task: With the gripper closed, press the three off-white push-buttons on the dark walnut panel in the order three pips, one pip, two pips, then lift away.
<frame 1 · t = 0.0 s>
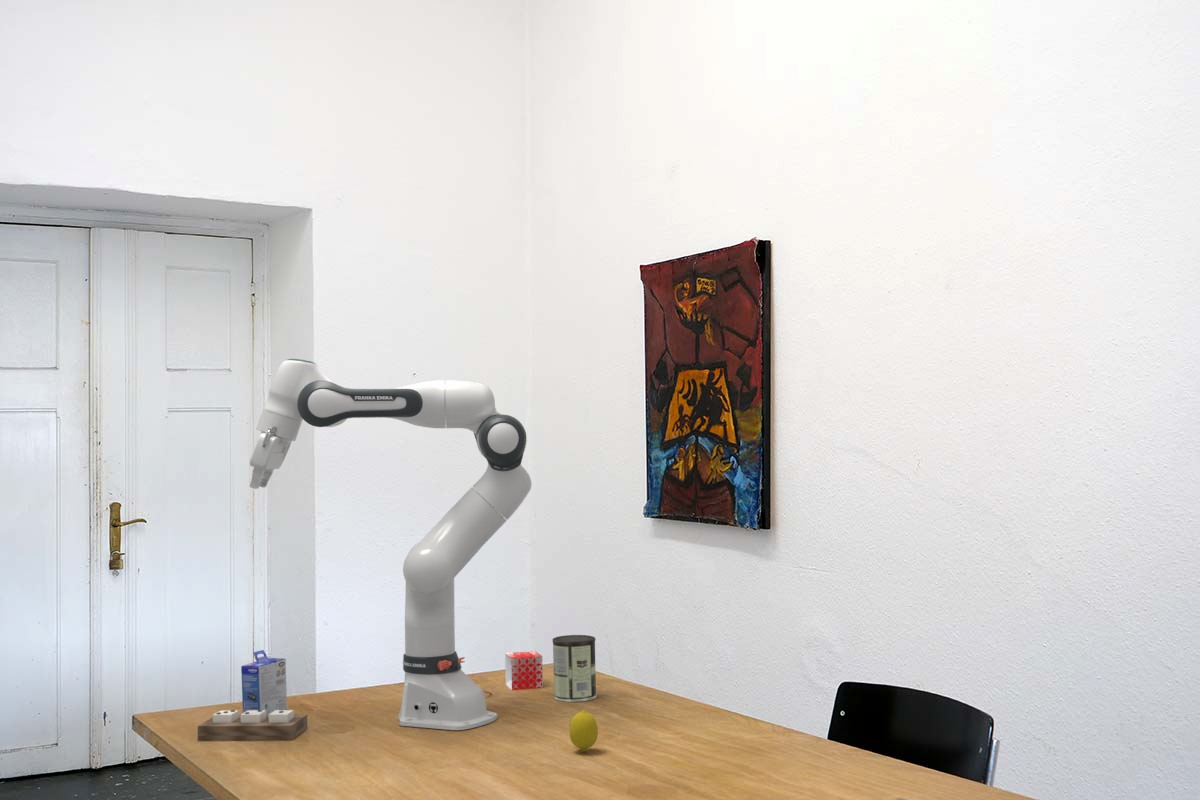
hand: (257, 487, 247), 52 cm above the table, tool tilted 20°, fingers open, 8 cm apart
button three: (225, 717, 237), point 4 cm above the table, slide at 0.0 cm
coffee can: (574, 698, 267), on the table
lemon: (583, 752, 218), on the table
button panel: (253, 734, 237), on the table
red and white cube: (524, 687, 281), on the table
button one: (281, 717, 236), point 3 cm above the table, slide at 0.0 cm
ink cartridge box: (264, 716, 254), on the table
button two: (253, 717, 237), point 4 cm above the table, slide at 0.0 cm
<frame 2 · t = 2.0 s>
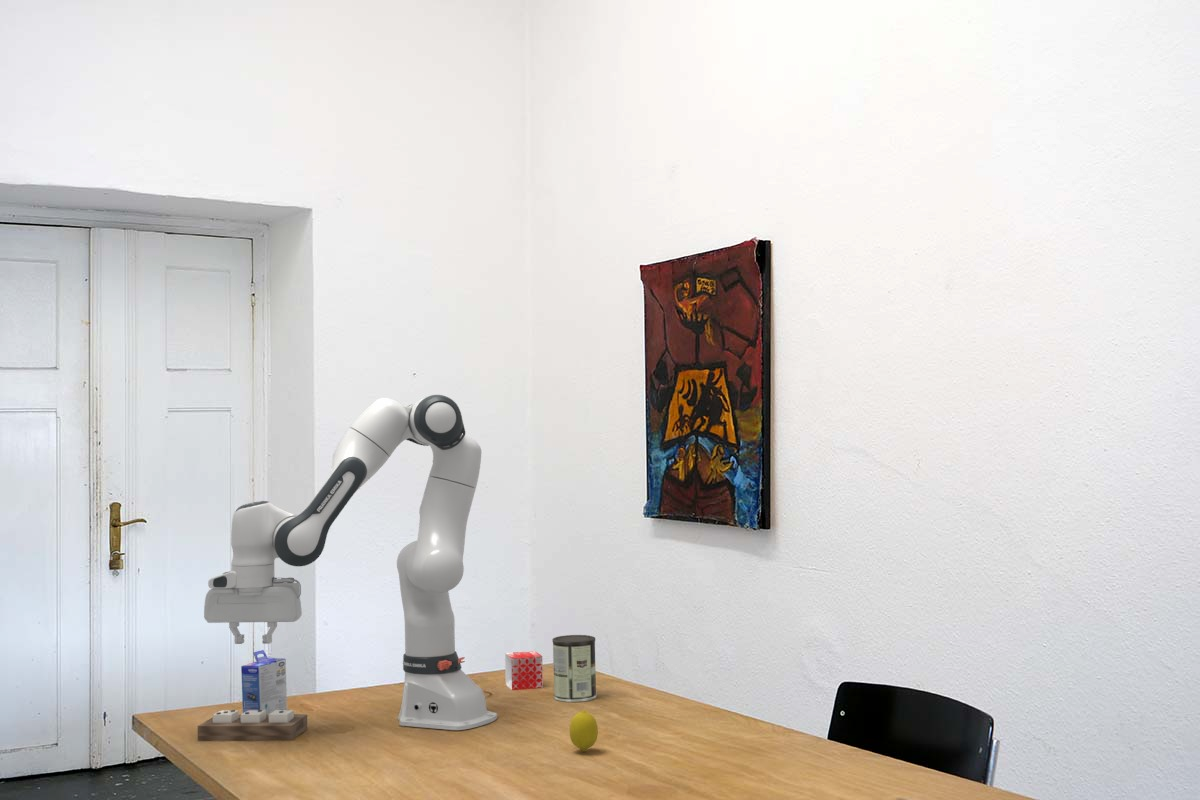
hand: (253, 643, 238), 19 cm above the table, tool pointing down, fingers open, 5 cm apart
nothing on the table moved.
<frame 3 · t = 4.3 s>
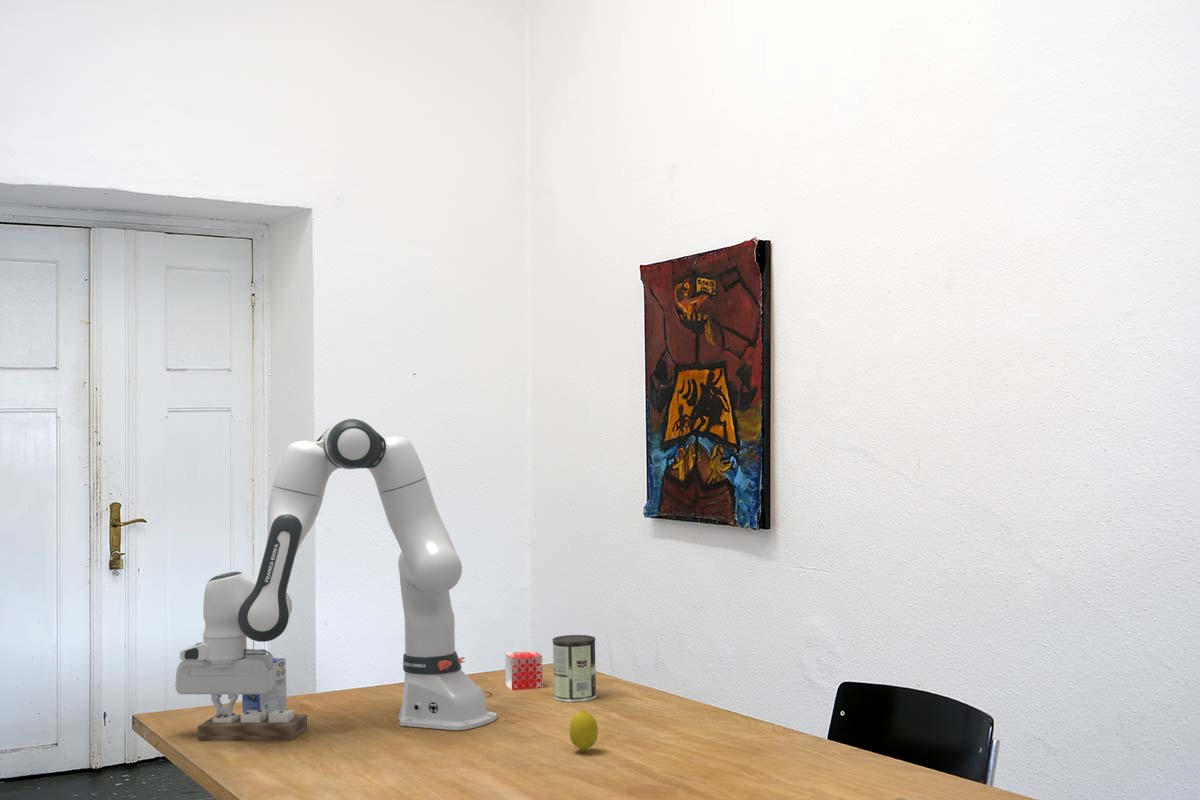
hand: (224, 715, 237), 4 cm above the table, tool pointing down, fingers closed, pressing on button three
button three: (225, 721, 237), point 3 cm above the table, slide at 0.7 cm, touching gripper
everything else where it was.
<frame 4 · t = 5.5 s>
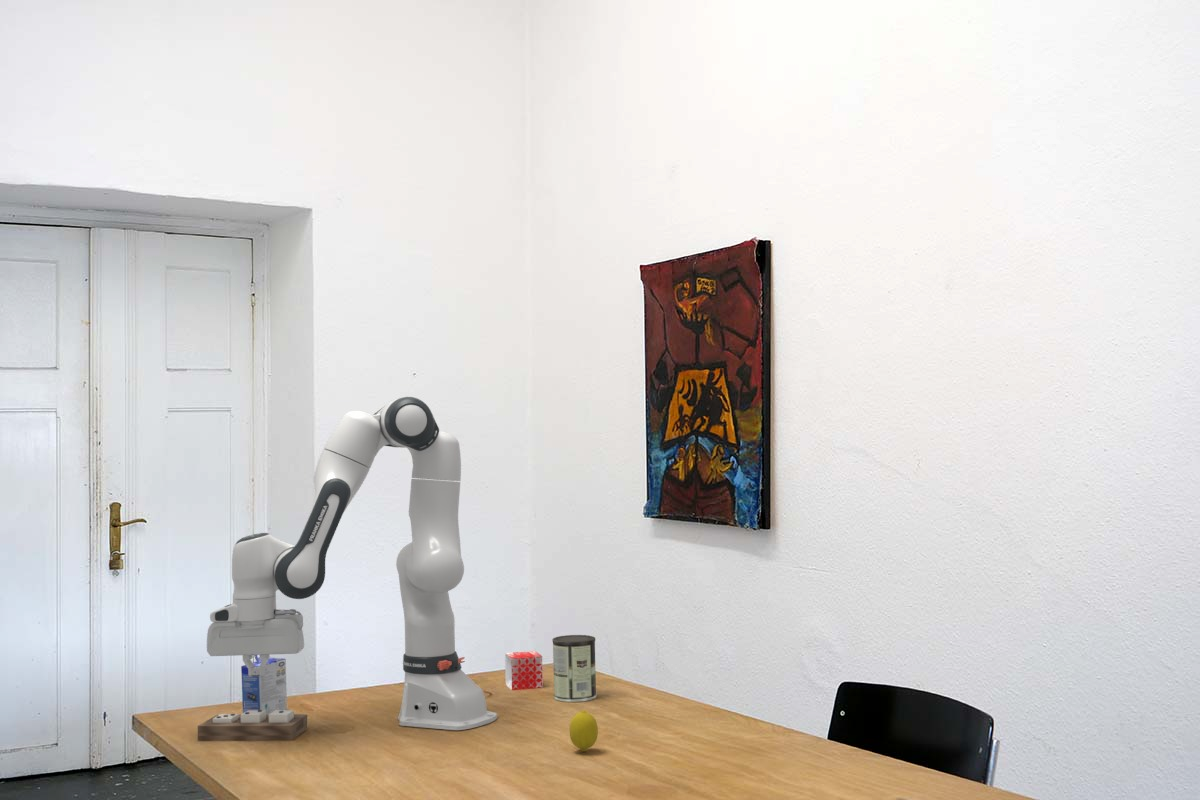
hand: (256, 675, 238), 12 cm above the table, tool pointing down, fingers closed
button three: (225, 721, 237), point 3 cm above the table, slide at 0.8 cm
everything else where it was.
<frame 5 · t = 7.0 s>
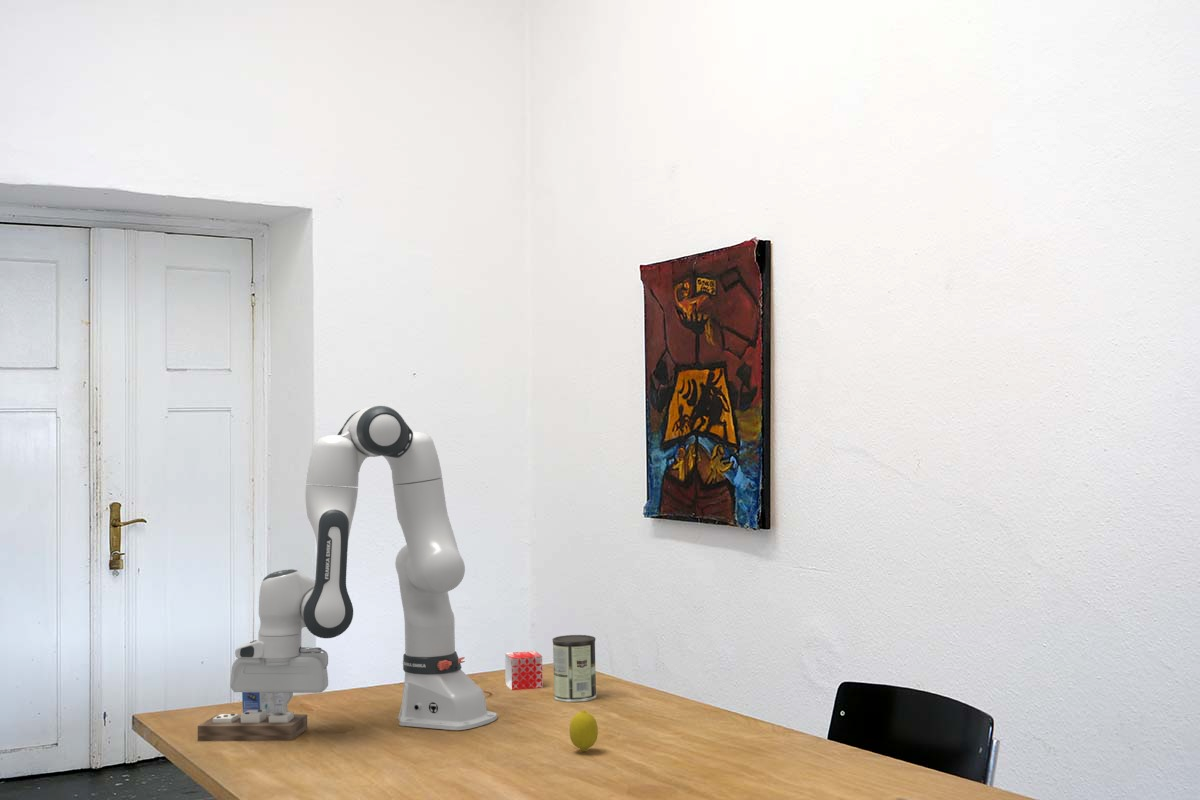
hand: (279, 713, 236), 4 cm above the table, tool pointing down, fingers closed, pressing on button one
button one: (281, 719, 236), point 3 cm above the table, slide at 0.4 cm, touching gripper
everything else where it was.
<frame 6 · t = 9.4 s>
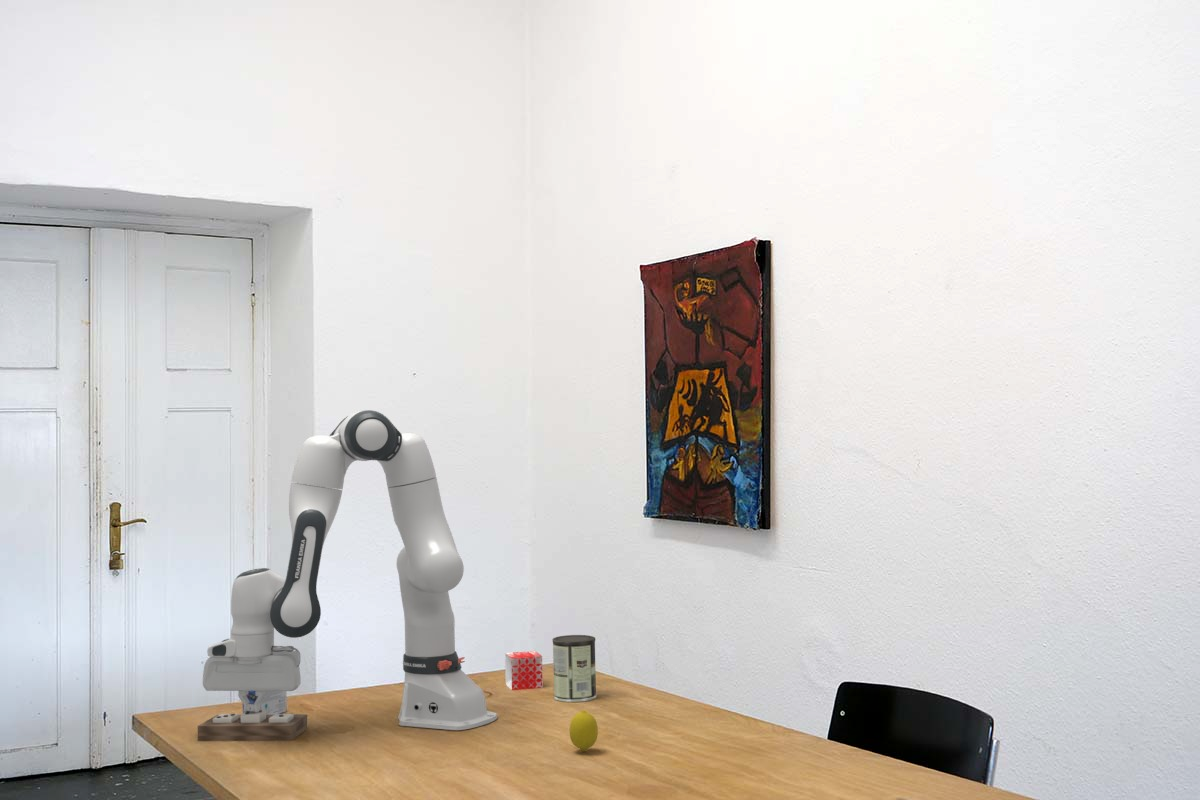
hand: (251, 711, 237), 5 cm above the table, tool pointing down, fingers closed, pressing on button two
button one: (281, 721, 236), point 3 cm above the table, slide at 0.8 cm
button two: (253, 717, 237), point 3 cm above the table, slide at 0.0 cm, touching gripper
everything else where it was.
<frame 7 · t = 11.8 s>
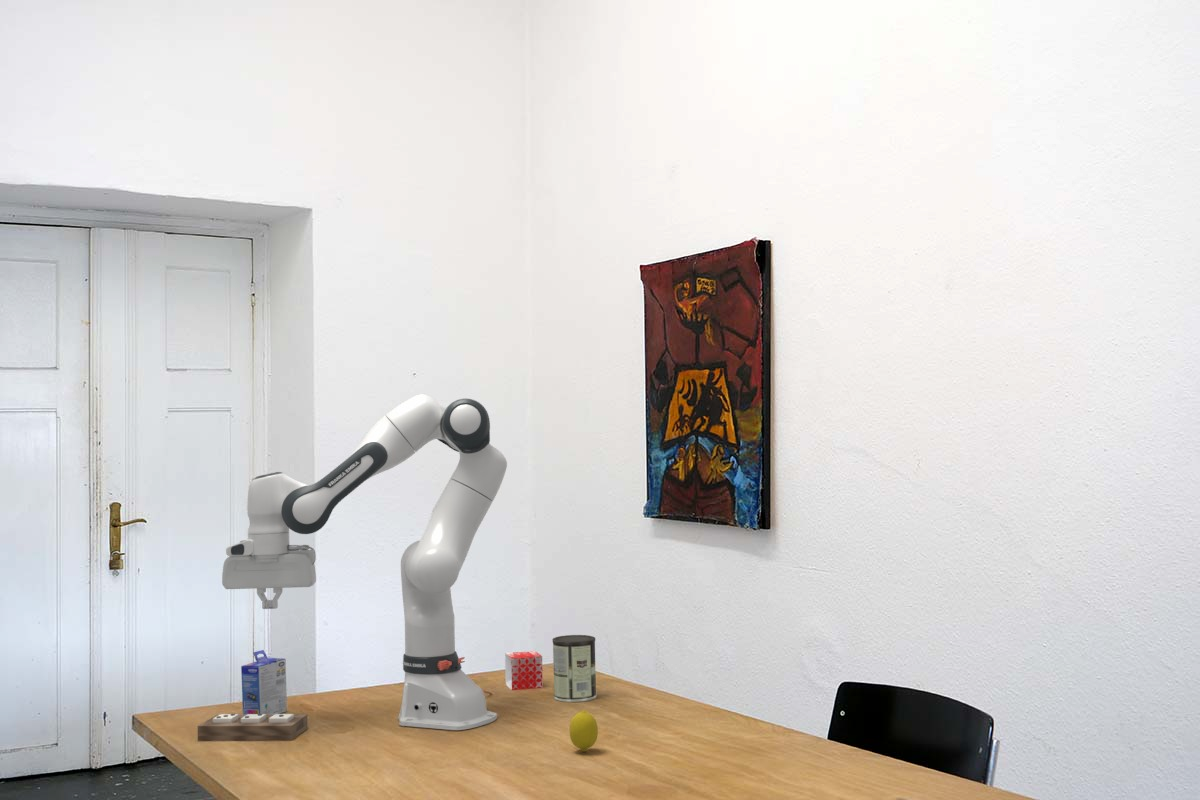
hand: (270, 608, 247), 25 cm above the table, tool pointing down, fingers closed
button two: (253, 721, 237), point 3 cm above the table, slide at 0.8 cm
everything else where it was.
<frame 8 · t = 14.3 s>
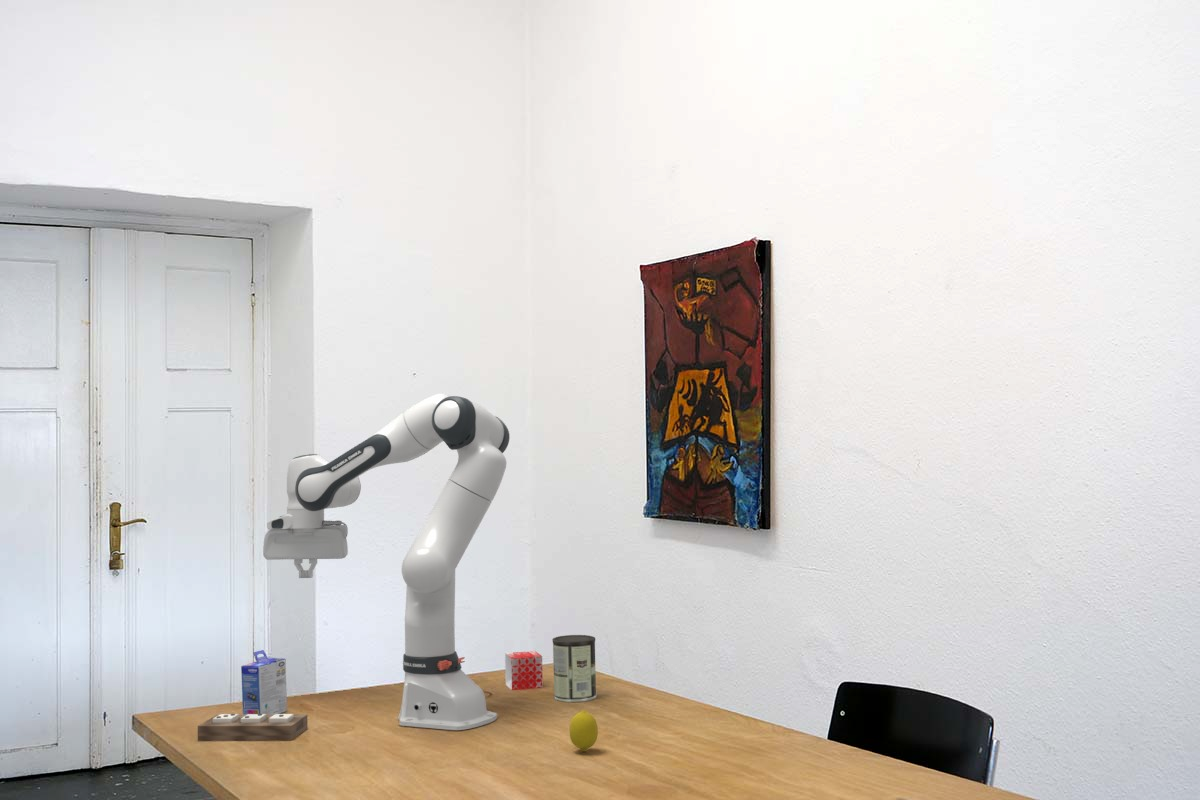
hand: (305, 577, 272), 29 cm above the table, tool pointing down, fingers closed
nothing on the table moved.
at the end: button three slide at 0.8 cm; button one slide at 0.8 cm; button two slide at 0.8 cm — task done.
